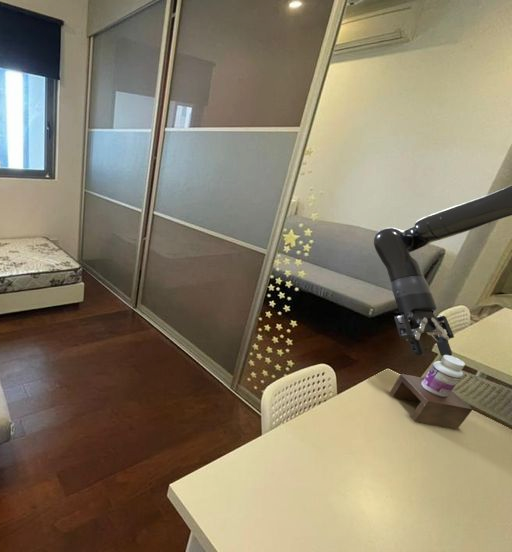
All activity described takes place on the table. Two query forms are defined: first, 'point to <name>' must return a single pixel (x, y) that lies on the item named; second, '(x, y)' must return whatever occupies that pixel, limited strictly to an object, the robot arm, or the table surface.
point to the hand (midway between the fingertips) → (433, 355)
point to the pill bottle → (443, 376)
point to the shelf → (431, 403)
